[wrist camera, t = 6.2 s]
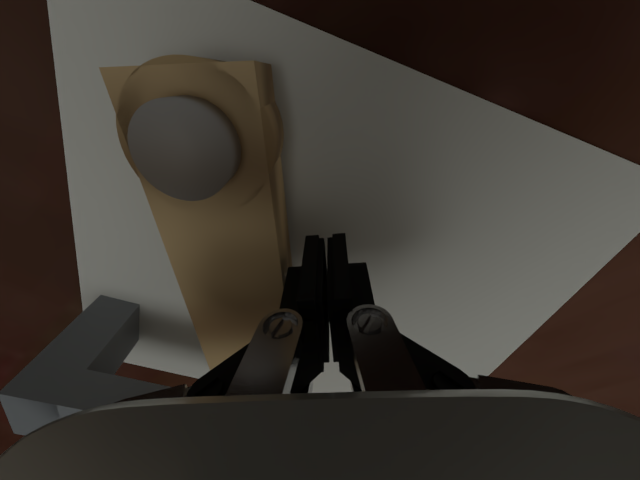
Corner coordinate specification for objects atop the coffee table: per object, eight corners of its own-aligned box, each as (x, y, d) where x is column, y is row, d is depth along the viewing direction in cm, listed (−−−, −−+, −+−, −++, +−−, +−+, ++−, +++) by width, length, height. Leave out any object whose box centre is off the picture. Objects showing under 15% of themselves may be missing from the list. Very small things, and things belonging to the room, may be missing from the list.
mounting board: (59, -78, 8) (-397, -340, 3) (667, 179, 12) (942, 262, 7) (97, 343, 18) (0, 455, 13) (428, 418, 22) (461, 530, 16)
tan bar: (143, 62, 9) (54, 55, 6) (276, 56, 9) (251, 47, 6) (238, 382, 18) (220, 444, 15) (307, 382, 18) (303, 445, 15)
